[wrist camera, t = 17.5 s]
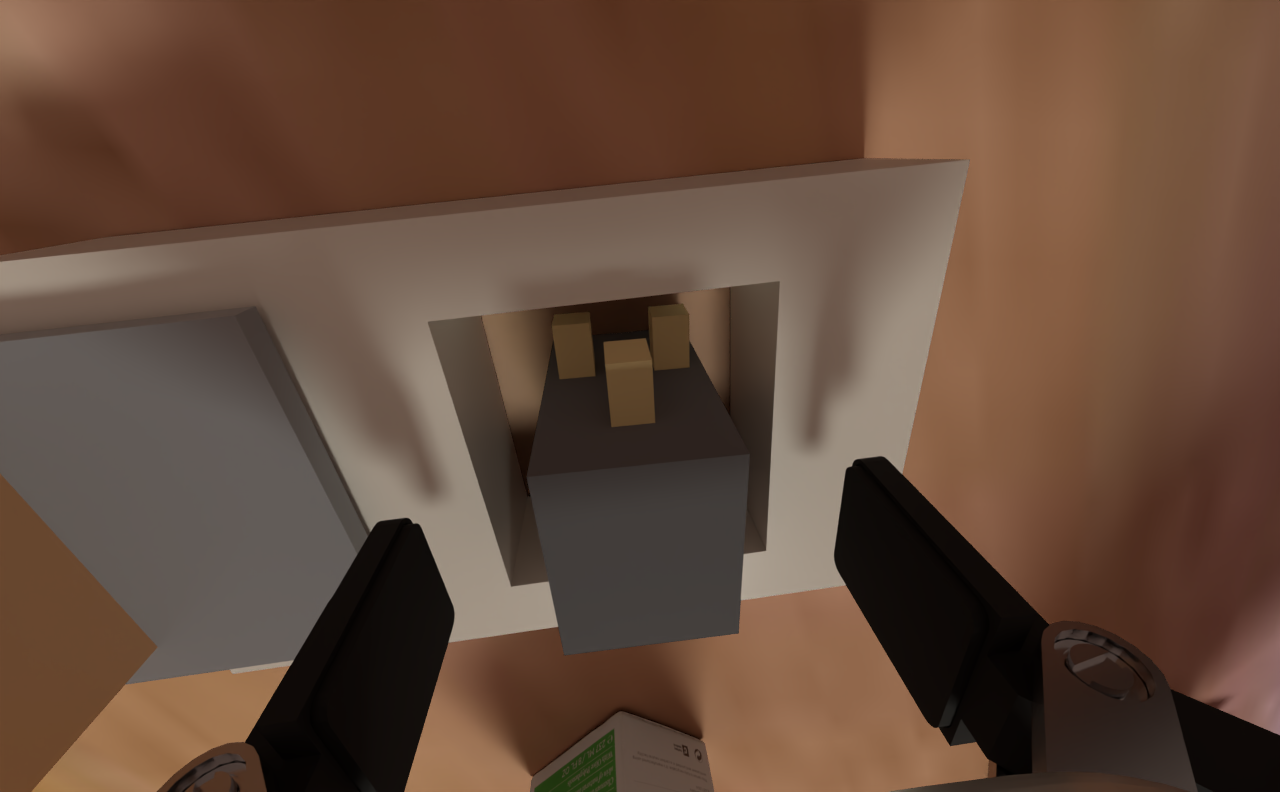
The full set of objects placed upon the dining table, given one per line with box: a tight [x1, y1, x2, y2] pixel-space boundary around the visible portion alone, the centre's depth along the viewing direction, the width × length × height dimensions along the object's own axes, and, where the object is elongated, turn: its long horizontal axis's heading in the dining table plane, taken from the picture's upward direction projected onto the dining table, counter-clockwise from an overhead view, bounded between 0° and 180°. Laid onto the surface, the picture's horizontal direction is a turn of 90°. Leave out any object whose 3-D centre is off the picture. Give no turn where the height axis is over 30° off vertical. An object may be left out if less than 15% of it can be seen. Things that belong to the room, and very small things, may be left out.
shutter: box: [0, 306, 368, 792], centre depth 9 cm, size 9×10×4 cm
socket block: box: [0, 158, 970, 674], centre depth 13 cm, size 20×12×4 cm, turn 95°
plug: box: [527, 304, 750, 655], centre depth 12 cm, size 4×6×7 cm, turn 3°
